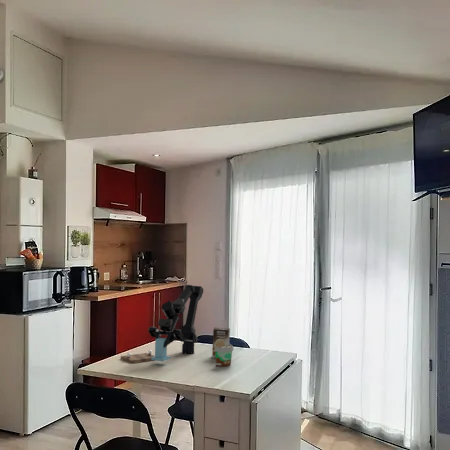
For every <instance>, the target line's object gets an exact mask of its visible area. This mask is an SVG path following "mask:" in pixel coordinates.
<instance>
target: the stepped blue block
mask: <svg viewBox="0 0 450 450" xmlns="http://www.w3.org/2000/svg"><path fill="white" fill-rule="evenodd" d="M166 339H167V337H161V338H157V339H156V338H155V340H154V341H155V342H154V343H155V345H154V348H155V349H154V357H151V360H153V361H157V362H166V361H168V360H170V359H171V356H170V355H167V353H168V351H167V350H168V345H167V346H166V347H165V348H164V347H163V346H164V343H165V341H166Z"/></svg>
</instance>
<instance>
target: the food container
mask: <svg viewBox="0 0 450 450" xmlns="http://www.w3.org/2000/svg"><path fill="white" fill-rule="evenodd" d="M234 350H235V349H234V346H233V345H232V344H231V343H229V344H228V346H222V347H215V353H216V358H215V367H219V368H227V367H231V366H230V365H232V357H233V356H232V355H233V351H234Z"/></svg>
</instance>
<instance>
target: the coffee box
mask: <svg viewBox="0 0 450 450" xmlns="http://www.w3.org/2000/svg"><path fill="white" fill-rule="evenodd" d="M230 333H231V329H230V328H227V327H213V331H212V349H211V351H212V353H211V354H212V355H211V358H212V359H216V353H215V347H222V346H228V344H230V335H231V334H230Z"/></svg>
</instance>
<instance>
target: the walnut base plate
mask: <svg viewBox="0 0 450 450" xmlns="http://www.w3.org/2000/svg"><path fill="white" fill-rule="evenodd" d="M154 356H155V354H154V355H153V354H151V356H149V355H148V352H145V353H144V352H143V353H135V354H134V353H133V354H130V358H127V354H126V355H121V356H120V360H122V361H124V362H127V363H130V364H137V363H144V362H146V363H147V362H151V361H152V362H153V361H154V360H151V357H154Z"/></svg>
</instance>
